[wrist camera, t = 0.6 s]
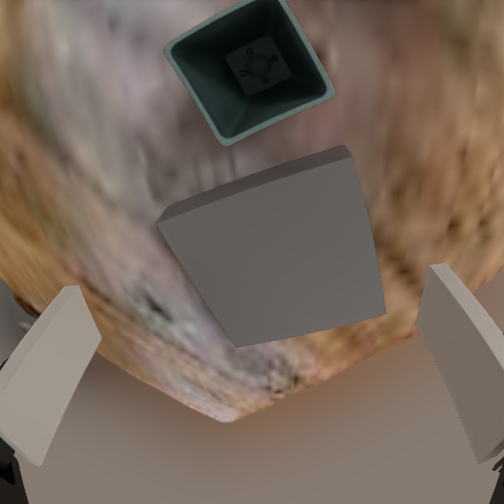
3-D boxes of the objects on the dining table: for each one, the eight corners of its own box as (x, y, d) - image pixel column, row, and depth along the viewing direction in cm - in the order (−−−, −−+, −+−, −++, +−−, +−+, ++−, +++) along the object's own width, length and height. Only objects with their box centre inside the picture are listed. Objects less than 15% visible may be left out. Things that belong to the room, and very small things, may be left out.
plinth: (344, 144, 28) (352, 156, 25) (379, 292, 38) (386, 314, 35) (168, 206, 34) (155, 223, 31) (239, 326, 44) (236, 347, 40)
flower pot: (239, 125, 28) (222, 150, 21) (194, 51, 24) (159, 48, 17) (322, 87, 25) (338, 96, 18) (278, 8, 21) (275, -15, 14)
